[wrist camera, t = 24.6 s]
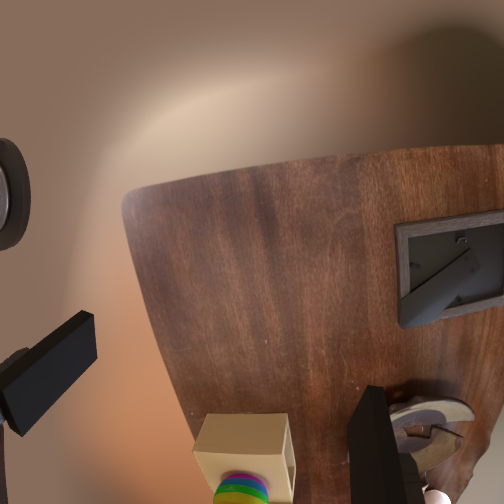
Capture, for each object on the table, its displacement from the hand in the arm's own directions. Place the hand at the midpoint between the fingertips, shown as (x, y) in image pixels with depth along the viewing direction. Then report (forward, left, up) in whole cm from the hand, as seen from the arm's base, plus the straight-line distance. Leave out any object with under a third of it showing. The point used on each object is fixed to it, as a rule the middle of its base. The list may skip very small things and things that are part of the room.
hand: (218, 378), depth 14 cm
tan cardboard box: (+10, -36, -27) cm, 46 cm away
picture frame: (+24, +6, -27) cm, 36 cm away
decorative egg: (+10, -36, -18) cm, 41 cm away
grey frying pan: (+35, -25, -27) cm, 50 cm away
